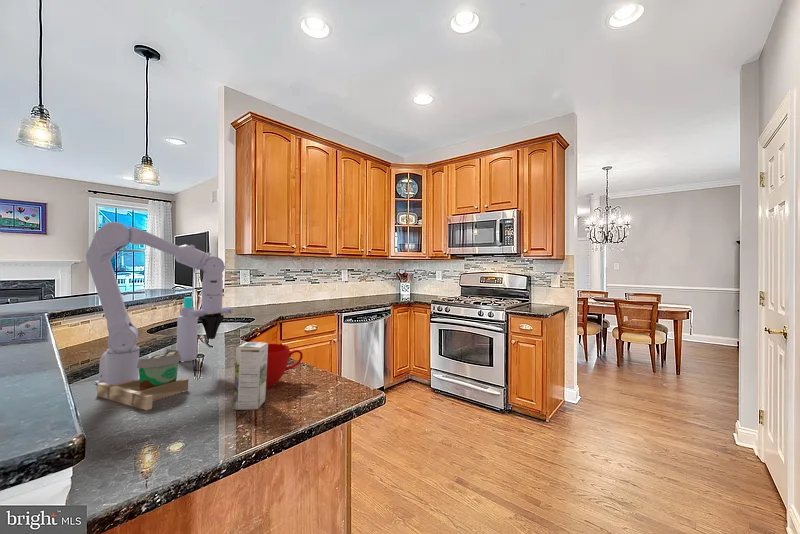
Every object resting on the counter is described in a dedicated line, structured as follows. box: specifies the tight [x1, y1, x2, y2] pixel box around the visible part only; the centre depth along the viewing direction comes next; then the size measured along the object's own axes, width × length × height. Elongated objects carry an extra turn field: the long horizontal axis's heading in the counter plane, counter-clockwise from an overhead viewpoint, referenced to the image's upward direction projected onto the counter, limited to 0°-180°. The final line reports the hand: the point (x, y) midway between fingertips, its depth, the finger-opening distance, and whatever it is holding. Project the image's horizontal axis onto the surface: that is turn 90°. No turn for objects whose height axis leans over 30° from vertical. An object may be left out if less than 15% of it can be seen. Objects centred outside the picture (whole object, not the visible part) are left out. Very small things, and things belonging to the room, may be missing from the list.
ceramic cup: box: [266, 343, 304, 388], centre depth 101 cm, size 13×17×10 cm
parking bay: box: [96, 378, 189, 411], centre depth 89 cm, size 20×13×3 cm, turn 66°
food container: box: [137, 348, 181, 391], centre depth 91 cm, size 12×6×10 cm, turn 3°
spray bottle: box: [176, 296, 199, 362], centre depth 124 cm, size 6×6×22 cm
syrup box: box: [232, 341, 269, 411], centre depth 84 cm, size 6×6×14 cm
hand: (210, 338), depth 110 cm, fingers closed
